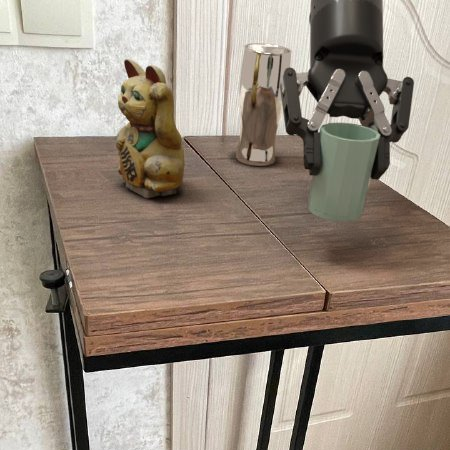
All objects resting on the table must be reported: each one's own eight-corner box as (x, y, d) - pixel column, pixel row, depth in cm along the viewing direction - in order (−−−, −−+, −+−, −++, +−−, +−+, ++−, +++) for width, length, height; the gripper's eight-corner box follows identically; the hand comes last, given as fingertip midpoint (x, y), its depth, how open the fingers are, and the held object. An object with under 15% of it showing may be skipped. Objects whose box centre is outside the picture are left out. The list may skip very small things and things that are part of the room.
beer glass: (286, 160, 96) (302, 50, 87) (263, 171, 91) (277, 56, 82) (247, 148, 99) (259, 40, 89) (223, 158, 94) (233, 46, 85)
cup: (355, 201, 71) (372, 124, 66) (367, 223, 67) (386, 142, 61) (303, 198, 71) (316, 120, 65) (312, 220, 66) (326, 138, 61)
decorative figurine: (105, 182, 83) (101, 55, 73) (151, 170, 88) (153, 49, 78) (155, 206, 78) (157, 74, 69) (201, 192, 83) (209, 67, 74)
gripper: (285, -11, 62) (284, 152, 60) (426, 1, 63) (429, 161, 61) (272, 39, 69) (271, 186, 67) (399, 50, 70) (400, 193, 69)
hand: (346, 173), depth 64 cm, fingers closed on cup, 6 cm apart
